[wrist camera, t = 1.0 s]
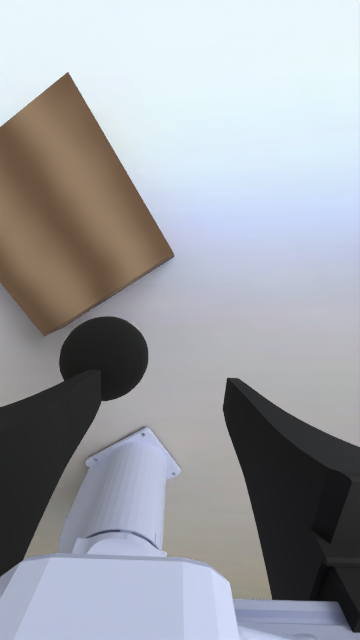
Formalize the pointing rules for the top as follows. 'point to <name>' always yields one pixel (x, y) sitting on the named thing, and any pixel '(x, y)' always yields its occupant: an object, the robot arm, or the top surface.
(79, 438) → the robot arm
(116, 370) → the light bulb
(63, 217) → the walnut plinth
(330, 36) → the top surface
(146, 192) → the top surface
